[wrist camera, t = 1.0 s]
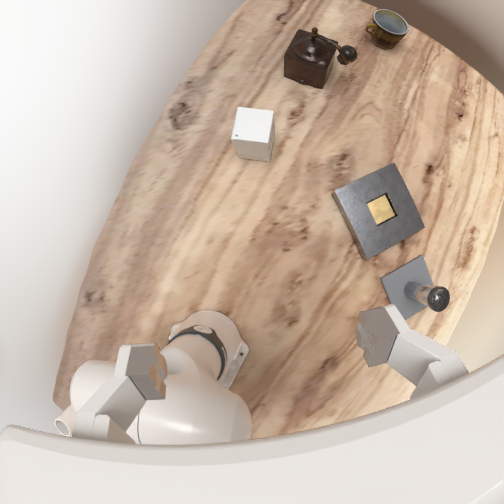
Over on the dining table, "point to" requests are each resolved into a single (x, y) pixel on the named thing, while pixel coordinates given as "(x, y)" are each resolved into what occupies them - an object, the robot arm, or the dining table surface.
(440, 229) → the dining table surface
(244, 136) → the supplement box
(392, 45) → the ceramic cup
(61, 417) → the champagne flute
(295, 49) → the manual coffee grinder
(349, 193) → the block
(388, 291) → the rest pad
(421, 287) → the steel rivet
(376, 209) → the yellow square plate
